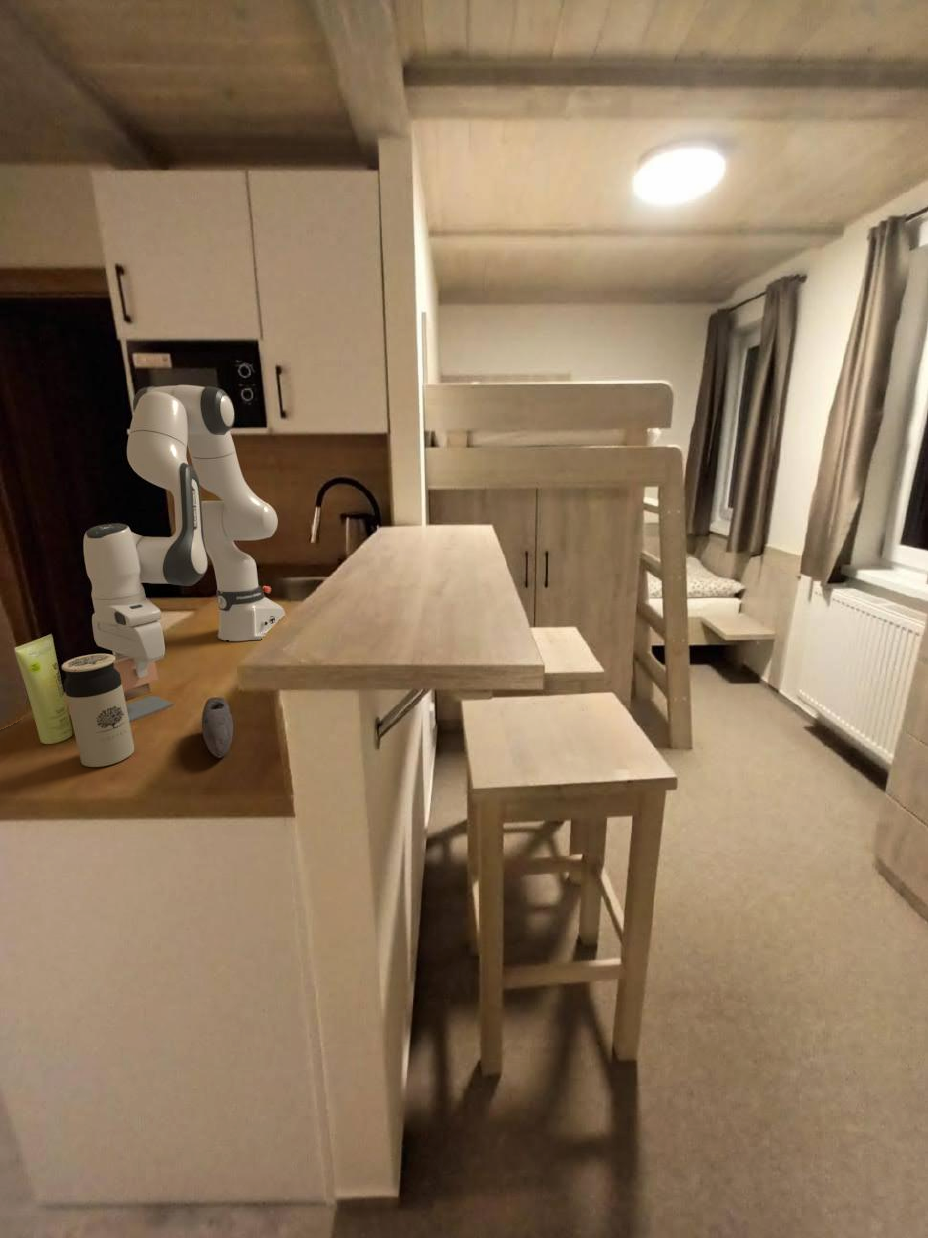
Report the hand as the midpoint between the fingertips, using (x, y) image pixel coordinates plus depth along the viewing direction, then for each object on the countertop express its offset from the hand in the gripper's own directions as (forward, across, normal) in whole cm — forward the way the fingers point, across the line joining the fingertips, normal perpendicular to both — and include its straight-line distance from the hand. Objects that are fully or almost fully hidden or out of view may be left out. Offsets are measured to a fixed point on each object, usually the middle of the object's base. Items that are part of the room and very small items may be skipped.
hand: (133, 673), depth 111 cm
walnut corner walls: (+8, -1, -1) cm, 8 cm away
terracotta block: (+2, 0, 0) cm, 2 cm away
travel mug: (+8, +14, -13) cm, 21 cm away
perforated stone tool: (+8, +27, 0) cm, 28 cm away
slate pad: (+8, 0, 0) cm, 8 cm away
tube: (+8, -1, -15) cm, 17 cm away
